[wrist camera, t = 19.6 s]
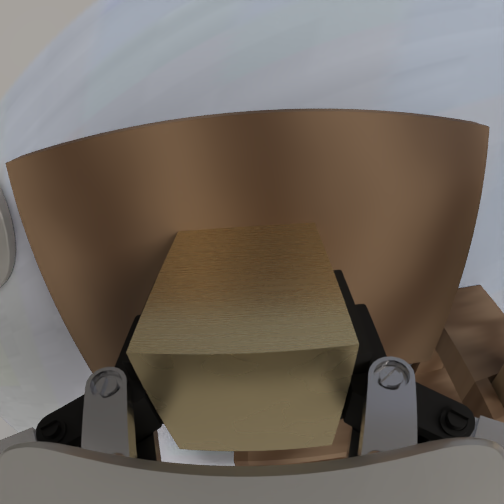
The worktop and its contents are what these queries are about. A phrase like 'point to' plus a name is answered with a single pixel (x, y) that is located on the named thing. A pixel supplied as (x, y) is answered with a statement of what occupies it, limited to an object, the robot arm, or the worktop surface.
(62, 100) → the worktop surface
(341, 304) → the lid
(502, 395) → the wooden key
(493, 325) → the wooden box
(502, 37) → the worktop surface
